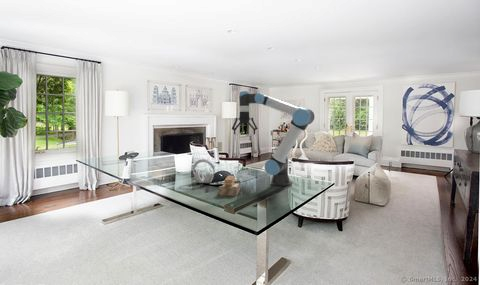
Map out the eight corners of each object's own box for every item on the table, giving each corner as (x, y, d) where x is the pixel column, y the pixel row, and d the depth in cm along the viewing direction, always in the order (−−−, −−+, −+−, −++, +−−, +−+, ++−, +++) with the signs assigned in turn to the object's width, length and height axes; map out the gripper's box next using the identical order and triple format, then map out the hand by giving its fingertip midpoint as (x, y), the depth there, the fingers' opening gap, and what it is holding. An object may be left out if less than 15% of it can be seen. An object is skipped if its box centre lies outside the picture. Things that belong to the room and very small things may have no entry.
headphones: (216, 182, 220) (216, 158, 218) (213, 185, 210) (212, 160, 208) (195, 181, 223) (195, 158, 221) (191, 184, 213) (190, 159, 211)
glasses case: (235, 183, 197) (235, 175, 197) (231, 188, 183) (231, 179, 183) (228, 183, 198) (228, 175, 197) (224, 188, 184) (224, 179, 183)
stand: (240, 188, 200) (240, 180, 199) (236, 195, 180) (236, 187, 180) (225, 187, 202) (224, 180, 201) (219, 195, 182) (218, 186, 181)
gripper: (260, 111, 208) (260, 138, 210) (229, 111, 212) (230, 138, 214) (259, 111, 201) (260, 138, 203) (227, 111, 204) (228, 138, 206)
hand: (244, 138), depth 208 cm, fingers open, 13 cm apart
